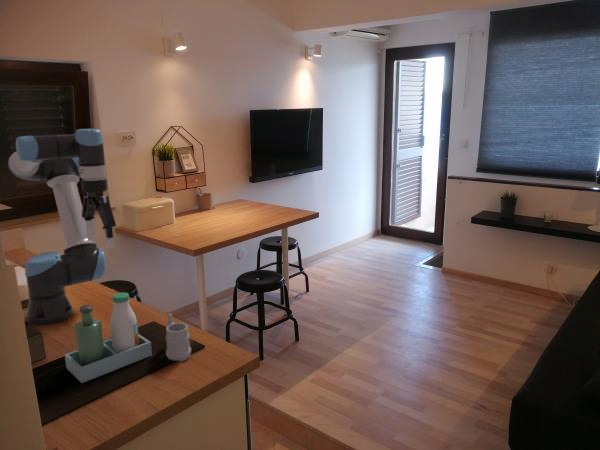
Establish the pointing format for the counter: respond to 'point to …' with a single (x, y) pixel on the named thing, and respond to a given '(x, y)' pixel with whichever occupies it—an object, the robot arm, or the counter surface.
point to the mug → (177, 340)
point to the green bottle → (89, 337)
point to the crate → (107, 360)
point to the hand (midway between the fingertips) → (100, 243)
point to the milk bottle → (123, 324)
